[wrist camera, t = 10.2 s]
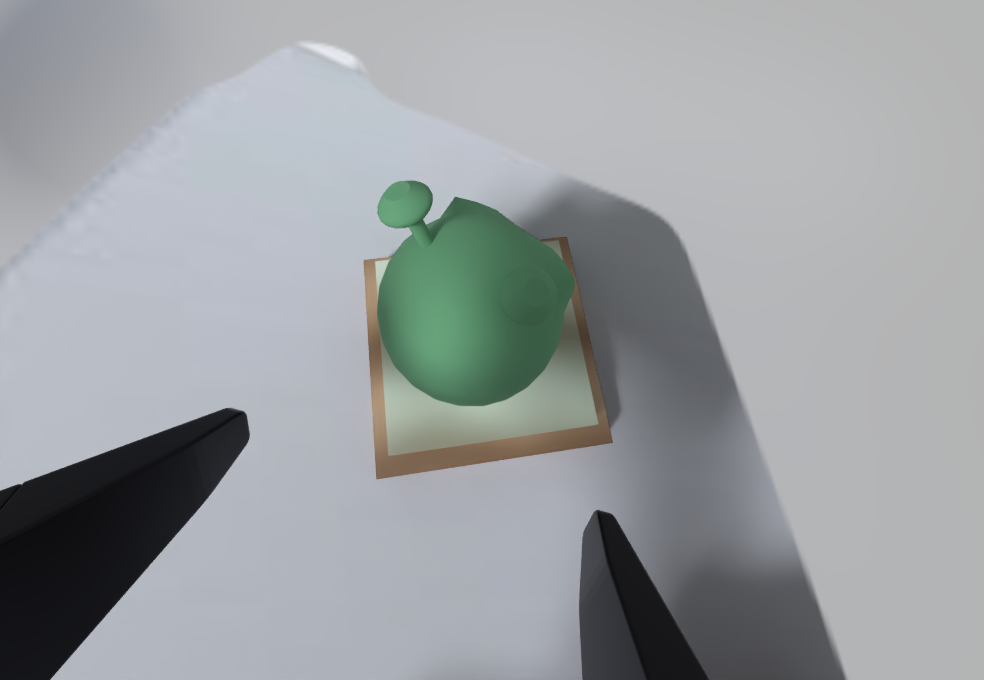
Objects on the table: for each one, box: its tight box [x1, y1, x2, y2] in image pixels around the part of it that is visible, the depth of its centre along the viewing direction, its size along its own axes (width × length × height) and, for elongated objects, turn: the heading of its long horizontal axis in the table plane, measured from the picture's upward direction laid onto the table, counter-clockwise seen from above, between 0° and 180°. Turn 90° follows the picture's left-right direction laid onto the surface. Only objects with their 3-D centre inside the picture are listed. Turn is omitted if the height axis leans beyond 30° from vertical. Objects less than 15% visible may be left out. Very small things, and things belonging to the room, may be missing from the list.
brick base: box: [364, 237, 613, 479], centre depth 21 cm, size 12×12×4 cm
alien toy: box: [377, 181, 575, 406], centre depth 14 cm, size 7×8×10 cm
